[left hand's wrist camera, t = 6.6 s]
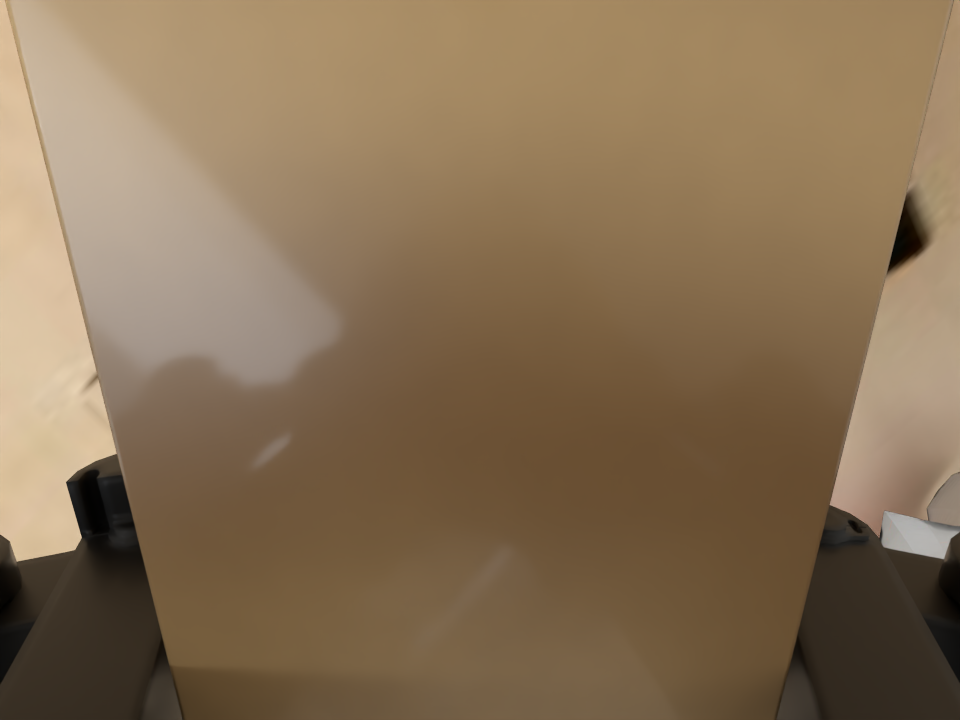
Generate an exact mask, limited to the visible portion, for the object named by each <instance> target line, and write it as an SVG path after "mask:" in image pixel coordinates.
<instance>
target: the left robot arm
mask: <svg viewBox="0 0 960 720" xmlns="http://www.w3.org/2000/svg"><path fill="white" fill-rule="evenodd" d="M66 484H67V487H68V491H69V494H70V498H71V501H72V505H73V508H74V512H75V515H76V518H77V522H78V525H79V529H80V532H81V536H82V539H81V541H80V542H79V544H78V546H77V548H76V550H74V551H70V552H65V553H60V554H55V555H49V556H44V557H39V558H34V559H29V560H24V561H18V562H16V559H15V556H14V553H13V550H12V547H11V544H10V541H8V540H7V539H6V538H4V537H3V536H2V535H0V720H183V719H182V715H181V711H180V707H179V703H178V699H177V695H176V690H175V686H174V682H173V678H172V674H171V670H170V666H169V662H168V658H167V654H166V650H165V646H164V642H163V638H162V634H161V630H160V626H159V622H158V618H157V614H156V609H155V605H154V601H153V597H152V593H151V589H150V585H149V581H148V577H147V573H146V569H145V565H144V561H143V557H142V553H141V549H140V545H139V541H138V537H137V533H136V529H135V524H134V520H133V516H132V512H131V508H130V504H129V500H128V496H127V492H126V488H125V484H124V480H123V476H122V472H121V468H120V464H119V460H118V456H117V454H115V455H112V456H109V457H107V458H104V459H101V460H98V461H95V462H94V463H92V464H90V465H88V466H86V467H84V468H83V469H81V470H79V471H77V472H76V473H75V474H74V475H73V476H72V477H71V478H70V479H69V480H68V481H67V482H66ZM777 720H960V532H959V533H958V534H956V535H955V536H954V537H952V538H951V539H950V542H949V545H948V548H947V551H946V554H945V557H944V559H941V558H935V557H930V556H925V555H920V554H915V553H909V552H904V551H899V550H894V549H889V548H885V547H883V545H882V543H881V541H880V540H879V538H878V536H877V535H876V534H875V533H874V532H873V531H872V530H871V528H870V527H869V526H868V525H867V524H865V523H864V522H862V521H861V520H859V519H858V518H856V517H855V516H853V515H851V514H850V513H847V512H845V511H842V510H840V509H838V508H835V507H833V506H830V505H829V509H828V513H827V517H826V521H825V525H824V529H823V533H822V537H821V541H820V545H819V549H818V553H817V557H816V562H815V566H814V570H813V574H812V578H811V582H810V586H809V590H808V594H807V598H806V602H805V606H804V610H803V614H802V618H801V622H800V626H799V630H798V635H797V639H796V643H795V647H794V651H793V655H792V659H791V663H790V667H789V671H788V675H787V679H786V683H785V687H784V691H783V695H782V699H781V703H780V707H779V712H778V716H777Z"/></svg>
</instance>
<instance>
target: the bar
mask: <svg viewBox="0 0 960 720" xmlns="http://www.w3.org/2000/svg"><path fill="white" fill-rule="evenodd" d="M5 2H6V6H7V10H8V14H9V18H10V22H11V26H12V30H13V35H14V39H15V43H16V47H17V51H18V55H19V59H20V63H21V67H22V71H23V75H24V79H25V83H26V87H27V91H28V95H29V99H30V103H31V107H32V111H33V116H34V120H35V124H36V128H37V132H38V136H39V140H40V144H41V148H42V152H43V156H44V160H45V164H46V168H47V172H48V176H49V180H50V184H51V188H52V192H53V196H54V201H55V205H56V209H57V213H58V217H59V221H60V225H61V229H62V233H63V237H64V241H65V245H66V249H67V253H68V257H69V261H70V265H71V269H72V273H73V277H74V282H75V286H76V290H77V294H78V298H79V302H80V306H81V310H82V314H83V318H84V322H85V326H86V330H87V334H88V338H89V342H90V346H91V350H92V354H93V358H94V362H95V367H96V371H97V375H98V379H99V383H100V387H101V391H102V395H103V399H104V403H105V407H106V411H107V415H108V419H109V423H110V427H111V431H112V435H113V439H114V443H115V448H116V452H117V456H118V460H119V464H120V468H121V472H122V476H123V480H124V484H125V488H126V492H127V496H128V500H129V504H130V508H131V512H132V516H133V520H134V524H135V529H136V533H137V537H138V541H139V545H140V549H141V553H142V557H143V561H144V565H145V569H146V573H147V577H148V581H149V585H150V589H151V593H152V597H153V601H154V605H155V609H156V614H157V618H158V622H159V626H160V630H161V634H162V638H163V642H164V646H165V650H166V654H167V658H168V662H169V666H170V670H171V674H172V678H173V682H174V686H175V690H176V695H177V699H178V703H179V707H180V711H181V715H182V719H183V720H777V716H778V712H779V707H780V703H781V699H782V695H783V691H784V687H785V683H786V679H787V675H788V671H789V667H790V663H791V659H792V655H793V651H794V647H795V643H796V639H797V635H798V630H799V626H800V622H801V618H802V614H803V610H804V606H805V602H806V598H807V594H808V590H809V586H810V582H811V578H812V574H813V570H814V566H815V562H816V557H817V553H818V549H819V545H820V541H821V537H822V533H823V529H824V525H825V521H826V517H827V513H828V509H829V505H830V501H831V497H832V493H833V489H834V485H835V480H836V476H837V472H838V468H839V464H840V460H841V456H842V452H843V448H844V444H845V440H846V436H847V432H848V428H849V424H850V420H851V416H852V412H853V407H854V403H855V399H856V395H857V391H858V387H859V383H860V379H861V375H862V371H863V367H864V363H865V359H866V355H867V351H868V347H869V343H870V339H871V335H872V330H873V326H874V322H875V318H876V314H877V310H878V306H879V302H880V298H881V294H882V290H883V286H884V282H885V278H886V274H887V270H888V266H889V262H890V258H891V253H892V249H893V245H894V241H895V237H896V233H897V229H898V225H899V221H900V217H901V213H902V209H903V205H904V201H905V197H906V193H907V189H908V185H909V180H910V176H911V172H912V168H913V164H914V160H915V156H916V152H917V148H918V144H919V140H920V136H921V132H922V128H923V124H924V120H925V116H926V112H927V108H928V103H929V99H930V95H931V91H932V87H933V83H934V79H935V75H936V71H937V67H938V63H939V59H940V55H941V51H942V47H943V43H944V39H945V35H946V30H947V26H948V22H949V18H950V14H951V10H952V6H953V2H954V0H5Z"/></svg>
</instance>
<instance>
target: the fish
mask: <svg viewBox="0 0 960 720" xmlns="http://www.w3.org/2000/svg"><path fill="white" fill-rule="evenodd" d="M927 514H928V520H929V521H926V520H922V519H918V518H913V517H909V516H905V515H901V514H897V513H893V512H889V511H884V515H883V521H882V527H881V532H880V538H879V540H880V541H881V543H882V545H883V547H885V548H889V549H894V550H899V551H904V552H909V553H915V554H920V555H925V556H930V557H935V558H941V559H944V557H945V554H946V551H947V548H948V545H949V542H950V539H951V538H952V537H954V536H955V535H956V534H958V533H959V532H960V472H958V473H956V474H954V475H952V476H951V477H950V478H949V479H948V480H947V481H946V482H945V483H944V484H943V485H942V487H941V488H940V489H939V490H938V491H937V493H936V494H935V496H934V498H933V499H932V501H931V502H930V504H929V506H928V507H927Z"/></svg>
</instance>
